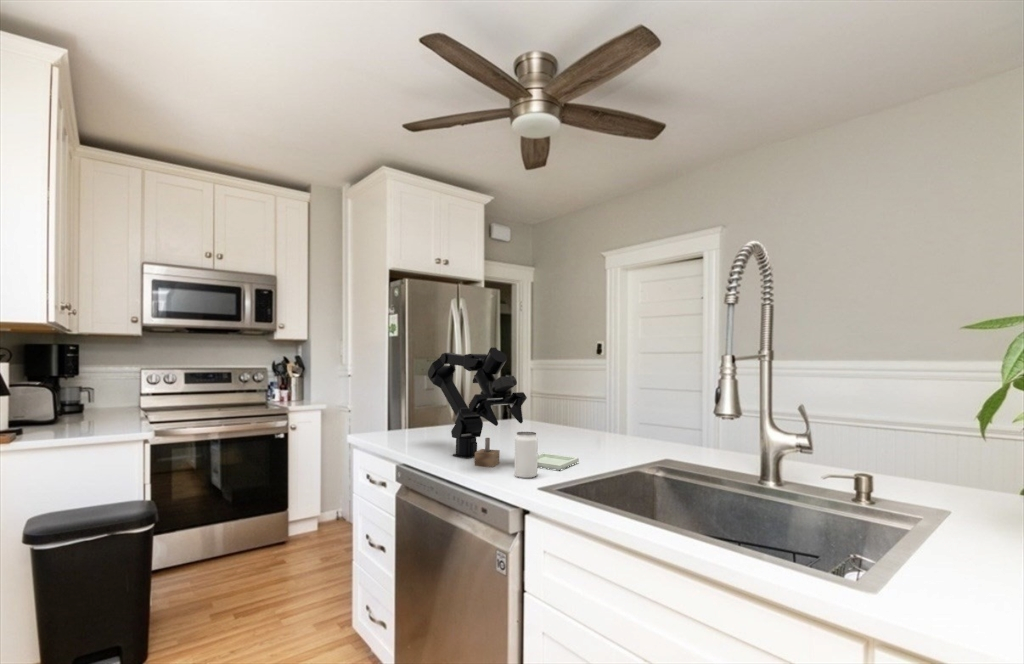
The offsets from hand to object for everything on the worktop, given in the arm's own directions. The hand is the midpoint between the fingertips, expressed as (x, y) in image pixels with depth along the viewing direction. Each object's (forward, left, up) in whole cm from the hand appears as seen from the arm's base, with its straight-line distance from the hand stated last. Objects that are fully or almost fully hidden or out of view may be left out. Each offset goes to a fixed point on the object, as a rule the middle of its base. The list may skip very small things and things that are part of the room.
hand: (509, 423), depth 145 cm
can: (+7, -3, -14) cm, 16 cm away
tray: (+6, +14, -14) cm, 21 cm away
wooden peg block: (-10, +2, -14) cm, 17 cm away
